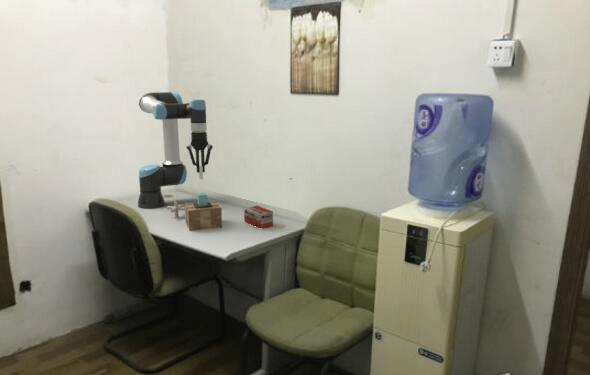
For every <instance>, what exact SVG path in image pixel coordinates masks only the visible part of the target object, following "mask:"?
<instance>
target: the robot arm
mask: <svg viewBox="0 0 590 375" xmlns="http://www.w3.org/2000/svg"><path fill="white" fill-rule="evenodd" d="M138 101H139V102H138V106H139V108H140V110H141V111H142V112H144V113H146V114H152V115H153V117H154V119H155V120H161V121H162V133H163V134H162V135H163V136H162V138H163V150H164V154H163V155H164V161H163V162H162V164H161V165H162V166H160V165H159V164H149V165H143V166H141V167H140V168H139V169H138V179H139V180H138V181H139V196H138V198H137V199H138V200H137V207H138V208H141V209H156V208H157V209H158V208H161V207H163V206H165V205H166V202H165V201H166V200H165V198H164V195H163V194H162V187H171V186H178V185H179V186H180V185H183V184H185V182H186V181H187V180H186V179H187V177H188V176H187V174H188V173H187V171H188V170H187V167H186V165H184V164H183V161H182V160H181V156H180V139H179V122H178V121H179V120H182V119H183V120H185V119H186V120H187V119H189V120H190V131H191V133H190V135H191V142H190V144H188V145H186V147H185V148H186V149H187V150H188V154H189V156H190V159H191V163H192V165H193V166H196V173H197V174H198V179H199V180H203V179H204V173H205V172H206V170H205V169H206V168H205V166H207V165H209V160H210V156H211V151H212V149H213V148H214V146H213V145H212V144H210V143H209V141H208V132H207V130H208V128H207V127H208V126H207V106H206V101H205V100H204V99H190V100H189V102H187V103H184V102H183V99H182V97H181V95H180V94H179V93H178V92H173V91H172V92H171V91H169V92H161V91H160V92H159V91H158V92H148V93H145V94H144V95H142V96H141V97H140V98H139V100H138ZM192 149H193V150H195V156H194V153H193V151H192ZM206 149H207V151H206V156H205V150H206ZM200 162H201V163H200ZM200 164H201V165H200Z"/></svg>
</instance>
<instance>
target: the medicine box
mask: <svg viewBox="0 0 590 375" xmlns="http://www.w3.org/2000/svg"><path fill="white" fill-rule="evenodd" d="M243 212H244V214H243V215H244V218H243V219H244V220H243V221H244V223H245V222H246V224H247V223H248V225H250V224H251V225H250V226H252V225H253V226H252V227H254V226H256V227H255V228H257V227H258V228H257V229H259V228H264V229H266V228H265V227H267V228H272V227H273V226H274V211H273V210H270V209H267V208H266V207H262V206H260V205H253V206H249V207H244V211H243Z"/></svg>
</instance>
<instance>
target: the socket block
mask: <svg viewBox="0 0 590 375" xmlns="http://www.w3.org/2000/svg"><path fill="white" fill-rule="evenodd" d="M209 202H210V204H211V205H212V207H209V208H198V209H196V208H195V206H194V205H193V203H194V202H192V203H191V202H189V203H184V207H185V210H184V215H185V216H184V217H185V218H184V219H185V222H184V223H185V225H186V227H187V229H188V231H199V230H208V229H209V230H210V229H219V228H220V229H221V228H222V227H223V222H222V220H223V219H222V217H223V216H222V207H221V206H220V204H218V202H217V201H214V200H213V201H209Z"/></svg>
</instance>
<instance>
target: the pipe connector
mask: <svg viewBox="0 0 590 375" xmlns="http://www.w3.org/2000/svg"><path fill="white" fill-rule="evenodd" d="M173 203H174V205H173V206H172V205H167V206H166V209H167V210H170V213H174V218H175V219H178V218H179V211H185V206H183V205H182V204H179V200H178V198H174V202H173Z"/></svg>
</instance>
